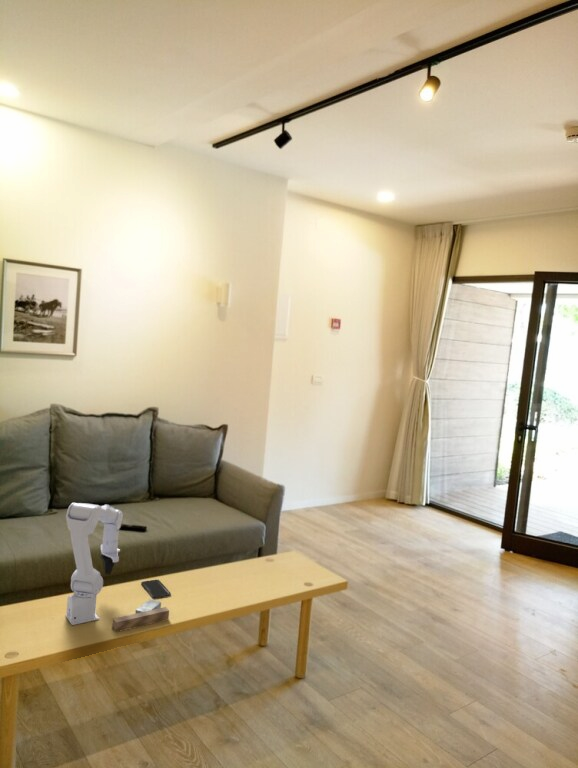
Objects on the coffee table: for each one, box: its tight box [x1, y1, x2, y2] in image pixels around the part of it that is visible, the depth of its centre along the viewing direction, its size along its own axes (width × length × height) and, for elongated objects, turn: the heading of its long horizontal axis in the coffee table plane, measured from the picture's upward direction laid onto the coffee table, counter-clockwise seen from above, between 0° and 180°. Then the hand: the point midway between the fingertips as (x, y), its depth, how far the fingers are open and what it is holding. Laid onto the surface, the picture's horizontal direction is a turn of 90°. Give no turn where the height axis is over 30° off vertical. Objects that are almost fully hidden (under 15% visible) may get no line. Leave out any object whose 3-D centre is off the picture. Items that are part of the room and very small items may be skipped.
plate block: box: [134, 598, 162, 614], centre depth 208 cm, size 10×5×3 cm, turn 165°
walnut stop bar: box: [111, 606, 170, 633], centre depth 199 cm, size 20×3×4 cm, turn 128°
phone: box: [140, 579, 172, 600], centre depth 227 cm, size 8×1×15 cm
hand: (107, 573), depth 216 cm, fingers closed
